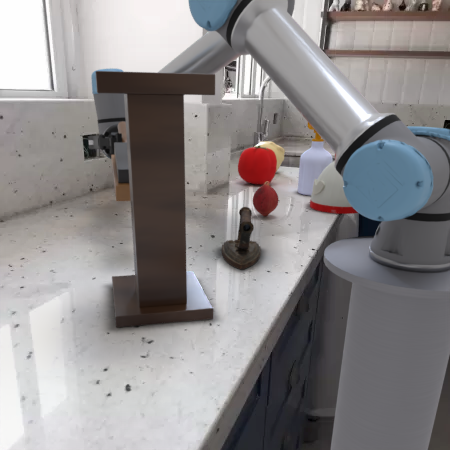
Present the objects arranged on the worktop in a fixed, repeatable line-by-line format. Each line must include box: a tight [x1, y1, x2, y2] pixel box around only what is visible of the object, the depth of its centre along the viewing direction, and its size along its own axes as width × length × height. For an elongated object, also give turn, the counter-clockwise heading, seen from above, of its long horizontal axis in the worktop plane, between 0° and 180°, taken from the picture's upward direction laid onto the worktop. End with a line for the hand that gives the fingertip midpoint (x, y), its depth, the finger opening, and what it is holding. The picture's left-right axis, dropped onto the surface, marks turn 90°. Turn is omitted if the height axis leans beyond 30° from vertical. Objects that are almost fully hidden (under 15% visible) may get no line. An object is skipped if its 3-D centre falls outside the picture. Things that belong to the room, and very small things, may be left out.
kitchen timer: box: [309, 153, 359, 215], centre depth 119 cm, size 14×14×15 cm
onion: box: [252, 181, 280, 217], centre depth 110 cm, size 6×6×8 cm
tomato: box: [237, 145, 277, 186], centre depth 150 cm, size 12×13×12 cm
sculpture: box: [253, 140, 286, 172], centre depth 172 cm, size 12×12×11 cm
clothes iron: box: [221, 206, 262, 270], centre depth 81 cm, size 7×11×10 cm, turn 0°
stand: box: [95, 70, 216, 328], centre depth 60 cm, size 14×12×28 cm
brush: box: [110, 122, 130, 202], centre depth 83 cm, size 23×6×6 cm, turn 15°
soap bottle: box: [297, 121, 334, 197], centre depth 134 cm, size 9×9×25 cm
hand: (128, 141), depth 82 cm, fingers closed on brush, 2 cm apart
